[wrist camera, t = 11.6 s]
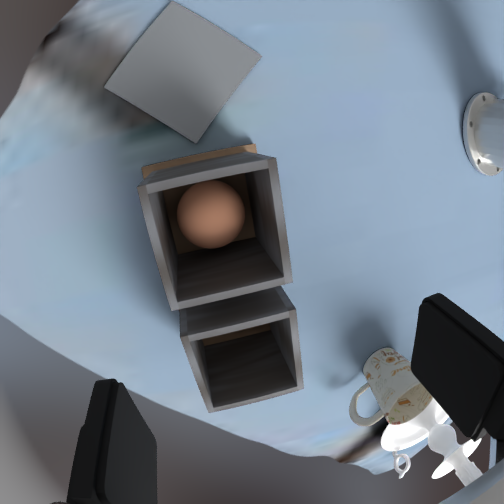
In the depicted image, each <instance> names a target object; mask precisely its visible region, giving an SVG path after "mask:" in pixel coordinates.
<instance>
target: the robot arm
mask: <svg viewBox="0 0 504 504" xmlns="http://www.w3.org/2000/svg"><path fill="white" fill-rule="evenodd" d="M463 138H464V144H465V148H466V152H467V155H468V157H469V160H470V162H471V163H472V165H473V166H474V168H475V169H476V170H477V171H478V172H480V173H481V174H484V175H489V176H493V175H497V174H498V173H500V172H501V171H502V170H503V169H504V99H498V98H497V97H496V96H494V95H493V94H491V93H486V92H481V93H477V94H476V95H474V96H473V97H472V98H471V99H470V101H469V102H468V104H467V107H466V110H465V113H464V119H463ZM411 371H412V373H413V375H414V376H415V377H416V378H417V379H418V380H419V382H420V383H421V384H422V385H423V386H424V387H425V389H426V390H427V391H428V392H429V393H430V394H431V396H432V397H433V398H434V399H435V400H436V402H437V403H438V404H439V405H440V406H441V407H442V409H443V410H444V411H445V412H446V413H447V415H448V416H449V417H450V418H451V419H452V421H453V422H454V423H455V424H456V425H457V426H458V428H459V429H460V430H461V431H462V433H463V434H464V435H465V436H466V437H471V439H472V440H473V441H474V442H476V441H477V440H479V439H480V438H482V437H483V436H485V435H486V433H487V432H488V433H489V434H490V436H491V447H490V462H489V470H488V471H487V472H486V473H484V474H483V475H481V476H480V477H479V478H477V479H476V480H474V481H473V482H472V483H470V484H469V485H467V486H466V487H464V488H463V489H462V490H460V491H458V492H457V493H455V494H454V495H452V496H450V497H449V498H447V499H446V500H444V501H442V502H441V503H439V504H504V341H502V340H501V339H500V338H499V337H498V336H496V335H495V334H494V333H492V332H491V331H490V330H489V329H487V328H486V327H485V326H484V325H482V324H481V323H480V322H478V321H477V320H476V319H475V318H473V317H472V316H471V315H469V314H468V313H467V312H465V311H464V310H463V309H461V308H460V307H459V306H457V305H456V304H455V303H453V302H452V301H451V300H449V299H448V298H447V297H445V296H444V295H443V294H441V293H437V294H434V295H431V296H429V297H426V298H424V299H423V301H422V304H421V305H420V307H419V314H418V321H417V329H416V336H415V342H414V348H413V354H412V360H411ZM51 504H157V445H156V440H155V437H154V435H153V434H152V432H151V430H150V429H149V428H148V426H147V424H146V422H145V421H144V419H143V417H142V416H141V414H140V412H139V411H138V409H137V407H136V406H135V404H134V402H133V400H132V399H131V397H130V395H129V393H128V391H127V390H126V388H125V386H124V384H123V383H121V382H120V383H118V382H117V380H116V379H106V380H99V381H96V382H95V384H94V388H93V392H92V396H91V400H90V404H89V408H88V412H87V416H86V420H85V424H84V425H83V427H82V428H81V430H80V433H79V437H78V442H77V447H76V451H75V456H74V461H73V466H72V471H71V477H70V483H69V489H68V495H67V501H66V502H61V501H60V502H53V503H51Z"/></svg>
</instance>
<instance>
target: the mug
mask: <svg viewBox="0 0 504 504" xmlns="http://www.w3.org/2000/svg"><path fill="white" fill-rule="evenodd" d="M363 373H364V376H365V378H366V380H367V382H368V383H366V384H365V385H364V386H362V387H361V388H360V389H359V390H358V391H357V392H356V393H355V394H354V395H353V397H352V400H351V402H350V406H349V414H350V417H351V419H352V421H353V422H354V423H355V424H357V425H360V426H371V425H373V424H375V423H376V422H377V421H379V420H380V419H381V418H382V417H384V416H385V418H386V420H387V421H388V423H390V424H392V425H400V424H403V423H406V422H408V421H410V420H412V419H413V418H415V417H416V416H418V415H419V414H420V413H421V412H422V411H423V410H424V409H425V408H426V407H427V406H428V405H429V404H430V402H431V401H432V399H433V397H432V396H431V394H430V393H429V392H428V391H427V390H426V389H425V387H424V386H423V385H422V384H421V383H420V382H419V380H418V379H417V378H416V377H415V376H414V375H413V373H412V371H411V362H409V361H408V360H407V359H406V358H404V357H403V356H402V355H400V354H399V353H398V352H397V351H395V350H394V349H392V348H382V349H380V350H378V351H376V352H375V353H373V354H372V355H371V356H370V357H369V358H368V359H367V361H366V363H365V365H364V368H363ZM369 387H370V388H371V390H372V392H373V394H374V396H375V398H376V400H377V402H378V404H379V406H380V408H381V409H380V410H379V411H378V412H377V413H376V414H374V415H373V416H372V417H370V418H362V417H360V416H359V415H358V413H357V409H356V406H357V400H358V397H359V396H360V395H361V394H362V393H363V392H364V391H366V390H367V389H368V388H369Z"/></svg>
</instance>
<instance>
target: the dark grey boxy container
mask: <svg viewBox="0 0 504 504" xmlns="http://www.w3.org/2000/svg"><path fill="white" fill-rule="evenodd" d="M142 173H143V177H144V180H143V181H142V182H141V183H140V185H139V186H138V187H137V190H138V194H139V198H140V202H141V206H142V210H143V214H144V218H145V222H146V226H147V230H148V233H149V237H150V241H151V244H152V248H153V252H154V255H155V259H156V262H157V266H158V269H159V272H160V276H161V279H162V282H163V286H164V289H165V292H166V295H167V299H168V302H169V305H170V308H171V311H174V310H179V311H180V338H181V341H182V344H183V347H184V349H185V352H186V355H187V358H188V361H189V363H190V366H191V369H192V371H193V374H194V377H195V379H196V382H197V385H198V387H199V390H200V392H201V395H202V397H203V400H204V403H205V405H206V408H207V410H208V412H209V413H212V412H217V411H221V410H226V409H230V408H235V407H239V406H243V405H247V404H251V403H255V402H259V401H263V400H267V399H270V398H274V397H278V396H281V395H285V394H288V393H291V392H295V391H298V390H301V389H304V384H303V373H302V362H301V352H300V342H299V333H298V323H297V314H296V308H295V307H294V305H293V304H292V302H291V301H290V299H289V298H288V296H287V295H286V293H285V292H284V290H283V288H282V287H281V285H284V284H288V283H292V282H293V280H292V271H291V263H290V255H289V247H288V240H287V232H286V225H285V217H284V210H283V203H282V196H281V189H280V182H279V175H278V168H277V162H276V158H274V157H270V156H265V155H261V154H257V150H256V144H248V145H242V146H237V147H231V148H226V149H221V150H215V151H210V152H205V153H201V154H196V155H191V156H187V157H182V158H178V159H173V160H169V161H165V162H160V163H156V164H152V165H148V166H144V167H142ZM207 180H216V181H221V182H223V183H226V184H228V185H229V186H231V187H232V188H234V189H235V190H236V191H237V193H238V194H239V195H240V197H241V199H242V201H243V204H244V207H245V221H244V225H243V227H242V230H241V231H240V233H239V235H238V236H237V237H236V238H235V239H234V240H233V241H232V242H230V243H229V244H227V245H225V246H223V247H219V248H214V249H208V248H202V247H199V246H196V245H194V244H193V243H191V242H190V241H189V240H188V239H186V237H185V236H184V235H183V234H182V232H181V230H180V228H179V225H178V222H177V208H178V204H179V201H180V199H181V197H182V196H183V194H184V193H185V192H186V191H187V190H188V189H189V188H190V187H191V186H193V185H195V184H196V183H199V182H202V181H207Z"/></svg>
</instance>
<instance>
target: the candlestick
mask: <svg viewBox="0 0 504 504" xmlns="http://www.w3.org/2000/svg"><path fill="white" fill-rule="evenodd" d="M448 417H449V416H448V415H447V413H446V412H445V411H444V410H443V409H442V407H441V406H440V405H439V404H438V403H437V402H436V400H435V399H434V398H433V399H432V401H431V402H430V404H429V405H428V406H427V407H426V408H425V409H424V410H423V411H422V412H421V413H420V414H419V415H418V416H416V417H415V418H413V419H412V420H410V421H408V422H406V423H403V424H400V425H392V424H390V423H389V424H388V425H387V427H386V429H385V430H384V432H383V434H382V437H381V446H382V448H383V449H385V450H387V451H393V457H394V468H395V470H396V471H397V472H398V473H399V474H400V476H399V478H402V477H403V476H404V473H405V472H407V471H408V469H409V468H410V458H409V457H408V456H407V455H406V454H399V455H398V454H397V451H398V450H402V449H405V448H408V447H410V446H412V445H414V444H416V443H418V442H420V441H421V440H423V439H424V438H426V437H427V436H428V445H429V447H430V449H431V450H432V451H434V452H437V453H440V454H442V455H443V456H444V461H443V462H442V463H441V464H440V466H439V467H438V468H437V469H436V470H435V472H434V473H433V475H432V478H433V479H436V478H439V477H441V476H443V475H445V474H447V473H449V472H450V471H452V470H453V469H455V470H456V475H457V476H458V477H459V479H460V480H461V481H462V483H463V484H464V485H465V487H466V486H467V485H469V484H470V483H472V482H473V481H474V480H476V479H477V478H479V477H480V476H481V475H483V474H482V473H481V471H480V469H478V468H477V467H476V466H475V464H474V462H470V461H469V459H468V458H467V457H468V456H469V455H470V454H471V453H472V452H473V451H474V450H475V449H476V447H477V446H478V445H479V443H480V441H481V438H480V439H479V440H477V441H476V442H474V441H473V440H472V439H471V440H470V441H468V442H466V443H465V444H463V445H459V444H458V443H457V441H456V433H455V430H454V428H452V427H451V426H449V425H447V424H443V423H444V422H445V421H446V419H447V418H448ZM400 457H403V458H404V459H405V460H406V468H405V469H404V470H401V469H400V468H399V467H398V460H399V458H400Z"/></svg>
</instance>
